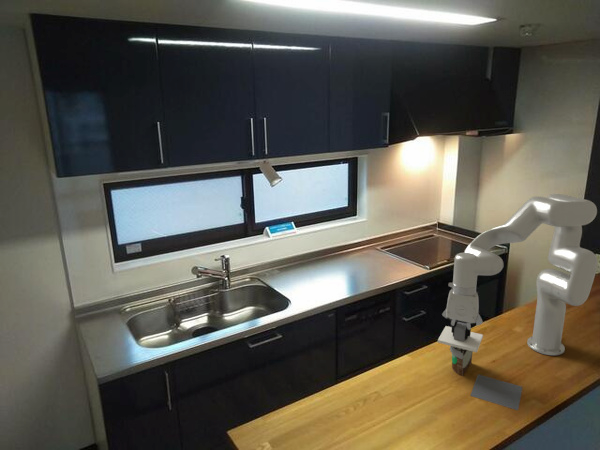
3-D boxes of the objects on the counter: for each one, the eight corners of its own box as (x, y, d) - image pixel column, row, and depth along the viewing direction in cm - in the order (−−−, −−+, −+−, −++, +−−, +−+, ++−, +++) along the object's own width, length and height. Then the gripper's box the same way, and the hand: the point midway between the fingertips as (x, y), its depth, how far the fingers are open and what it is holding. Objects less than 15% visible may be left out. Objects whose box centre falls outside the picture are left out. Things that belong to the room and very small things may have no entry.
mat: (477, 375, 149) (477, 374, 149) (522, 388, 142) (522, 386, 141) (470, 397, 138) (470, 395, 138) (517, 412, 131) (518, 410, 131)
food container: (455, 357, 160) (457, 333, 157) (472, 362, 156) (474, 338, 154) (443, 373, 151) (444, 348, 148) (460, 379, 147) (462, 354, 145)
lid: (445, 328, 158) (446, 315, 157) (482, 337, 152) (483, 323, 150) (437, 342, 149) (438, 328, 148) (476, 352, 143) (477, 338, 141)
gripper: (436, 288, 146) (434, 335, 151) (488, 297, 138) (483, 347, 143) (442, 280, 152) (439, 325, 158) (492, 289, 144) (487, 337, 149)
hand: (460, 335), depth 150 cm, fingers closed on lid, 3 cm apart
